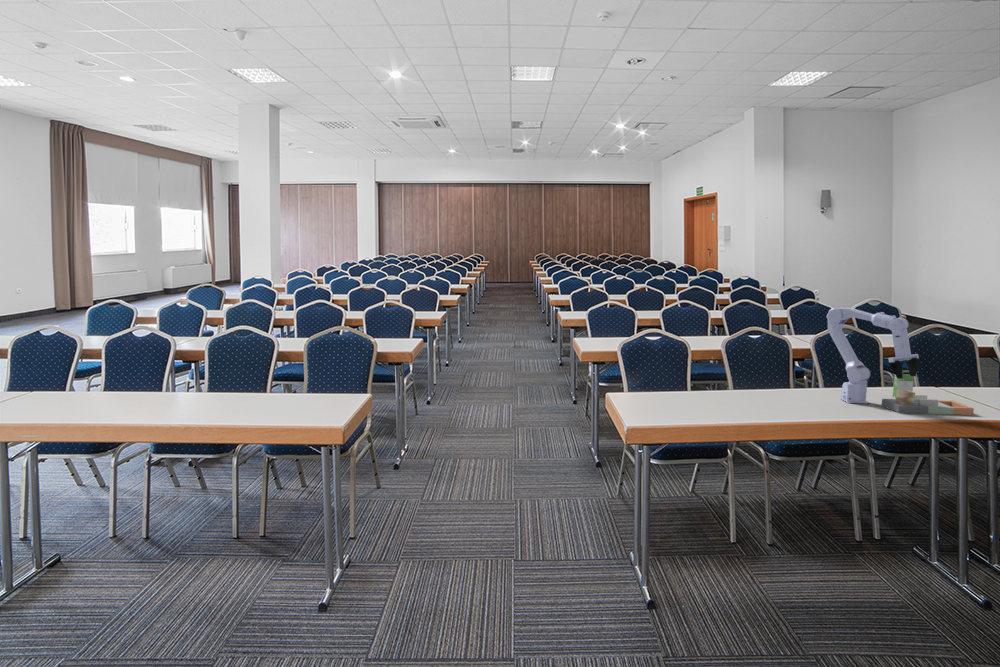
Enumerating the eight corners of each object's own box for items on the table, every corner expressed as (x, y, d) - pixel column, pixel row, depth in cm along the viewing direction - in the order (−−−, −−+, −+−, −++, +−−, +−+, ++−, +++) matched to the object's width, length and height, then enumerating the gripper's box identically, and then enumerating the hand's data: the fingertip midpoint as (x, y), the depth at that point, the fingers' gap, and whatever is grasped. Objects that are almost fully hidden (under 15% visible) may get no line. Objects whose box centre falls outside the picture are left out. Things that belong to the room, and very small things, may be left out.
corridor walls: (919, 405, 275) (920, 399, 275) (907, 400, 285) (907, 394, 284) (938, 406, 275) (938, 400, 275) (925, 401, 284) (925, 395, 284)
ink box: (907, 396, 306) (910, 368, 304) (912, 398, 302) (915, 370, 301) (892, 396, 307) (894, 368, 305) (896, 398, 303) (899, 369, 301)
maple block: (901, 403, 278) (903, 392, 277) (895, 401, 283) (896, 389, 282) (914, 404, 278) (915, 392, 277) (907, 401, 283) (908, 390, 282)
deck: (898, 413, 274) (898, 406, 274) (881, 405, 288) (882, 398, 288) (973, 415, 272) (973, 408, 272) (952, 407, 286) (953, 400, 285)
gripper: (896, 347, 272) (901, 379, 272) (923, 343, 277) (927, 375, 276) (882, 348, 279) (887, 379, 278) (908, 344, 283) (913, 375, 283)
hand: (906, 377), depth 278 cm, fingers open, 7 cm apart
